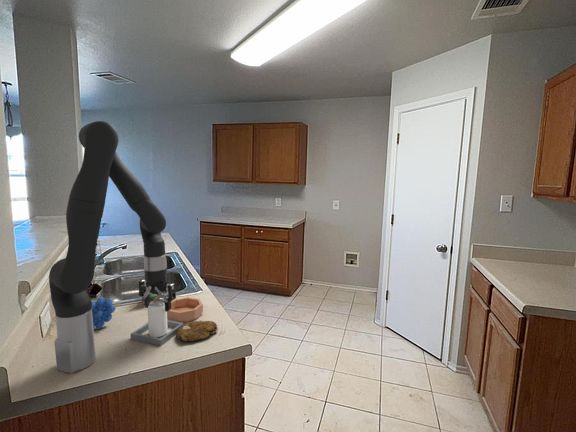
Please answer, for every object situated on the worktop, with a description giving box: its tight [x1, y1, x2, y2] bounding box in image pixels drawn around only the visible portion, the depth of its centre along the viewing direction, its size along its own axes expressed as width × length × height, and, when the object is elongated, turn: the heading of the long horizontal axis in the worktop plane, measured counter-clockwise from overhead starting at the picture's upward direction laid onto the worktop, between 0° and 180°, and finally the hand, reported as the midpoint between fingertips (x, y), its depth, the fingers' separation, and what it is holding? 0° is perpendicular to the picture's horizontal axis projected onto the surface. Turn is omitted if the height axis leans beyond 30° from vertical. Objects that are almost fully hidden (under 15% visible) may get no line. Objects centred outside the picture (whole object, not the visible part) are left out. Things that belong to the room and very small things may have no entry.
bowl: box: [167, 296, 204, 324], centre depth 131 cm, size 14×14×4 cm
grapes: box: [91, 296, 116, 330], centre depth 119 cm, size 12×7×12 cm, turn 133°
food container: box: [141, 286, 161, 306], centre depth 144 cm, size 12×6×10 cm, turn 179°
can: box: [147, 299, 169, 338], centre depth 116 cm, size 6×6×12 cm
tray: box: [130, 319, 185, 346], centre depth 116 cm, size 13×13×2 cm
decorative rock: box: [175, 320, 219, 343], centre depth 117 cm, size 11×4×15 cm
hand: (158, 309), depth 116 cm, fingers open, 8 cm apart
